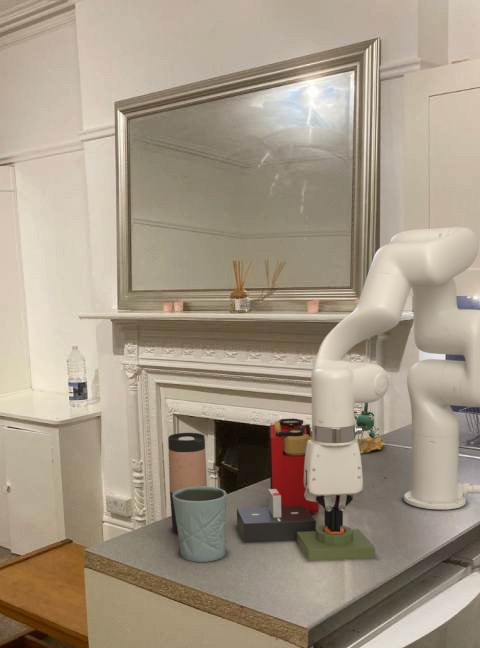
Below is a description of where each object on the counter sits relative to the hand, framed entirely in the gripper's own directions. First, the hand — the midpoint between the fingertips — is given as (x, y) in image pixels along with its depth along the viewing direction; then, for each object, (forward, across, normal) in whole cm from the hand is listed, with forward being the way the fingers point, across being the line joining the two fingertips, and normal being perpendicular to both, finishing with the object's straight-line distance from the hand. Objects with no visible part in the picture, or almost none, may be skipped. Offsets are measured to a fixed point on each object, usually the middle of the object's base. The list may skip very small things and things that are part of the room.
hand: (333, 529), depth 153 cm
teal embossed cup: (+4, +25, -1) cm, 25 cm away
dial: (0, +9, -11) cm, 14 cm away
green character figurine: (+4, -30, -79) cm, 85 cm away
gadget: (+4, +9, -11) cm, 15 cm away
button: (+2, 0, 0) cm, 2 cm away
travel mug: (+4, +26, -15) cm, 30 cm away
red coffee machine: (+4, +2, -27) cm, 27 cm away
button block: (+4, 0, 0) cm, 4 cm away
